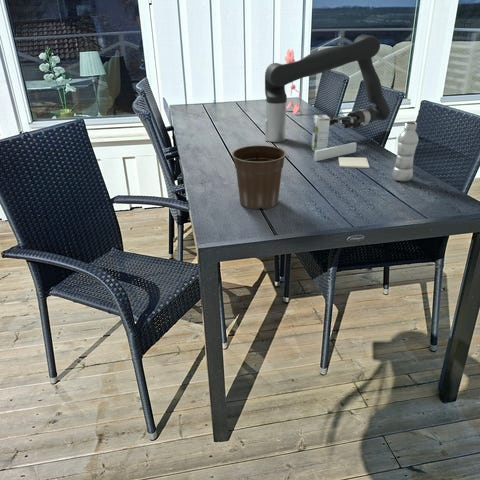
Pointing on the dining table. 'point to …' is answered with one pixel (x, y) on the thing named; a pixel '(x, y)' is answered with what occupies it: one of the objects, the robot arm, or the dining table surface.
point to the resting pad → (353, 162)
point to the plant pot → (259, 175)
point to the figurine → (290, 59)
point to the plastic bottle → (406, 152)
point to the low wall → (335, 151)
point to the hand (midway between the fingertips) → (336, 124)
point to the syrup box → (320, 132)
